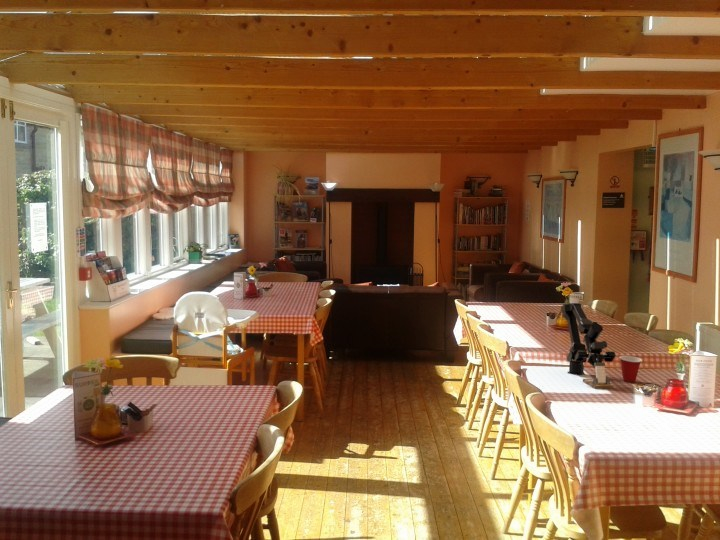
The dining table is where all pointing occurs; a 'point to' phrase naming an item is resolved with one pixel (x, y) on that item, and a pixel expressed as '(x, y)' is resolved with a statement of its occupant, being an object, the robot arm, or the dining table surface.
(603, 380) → the switch lever
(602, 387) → the switch base
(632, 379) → the plastic cup
